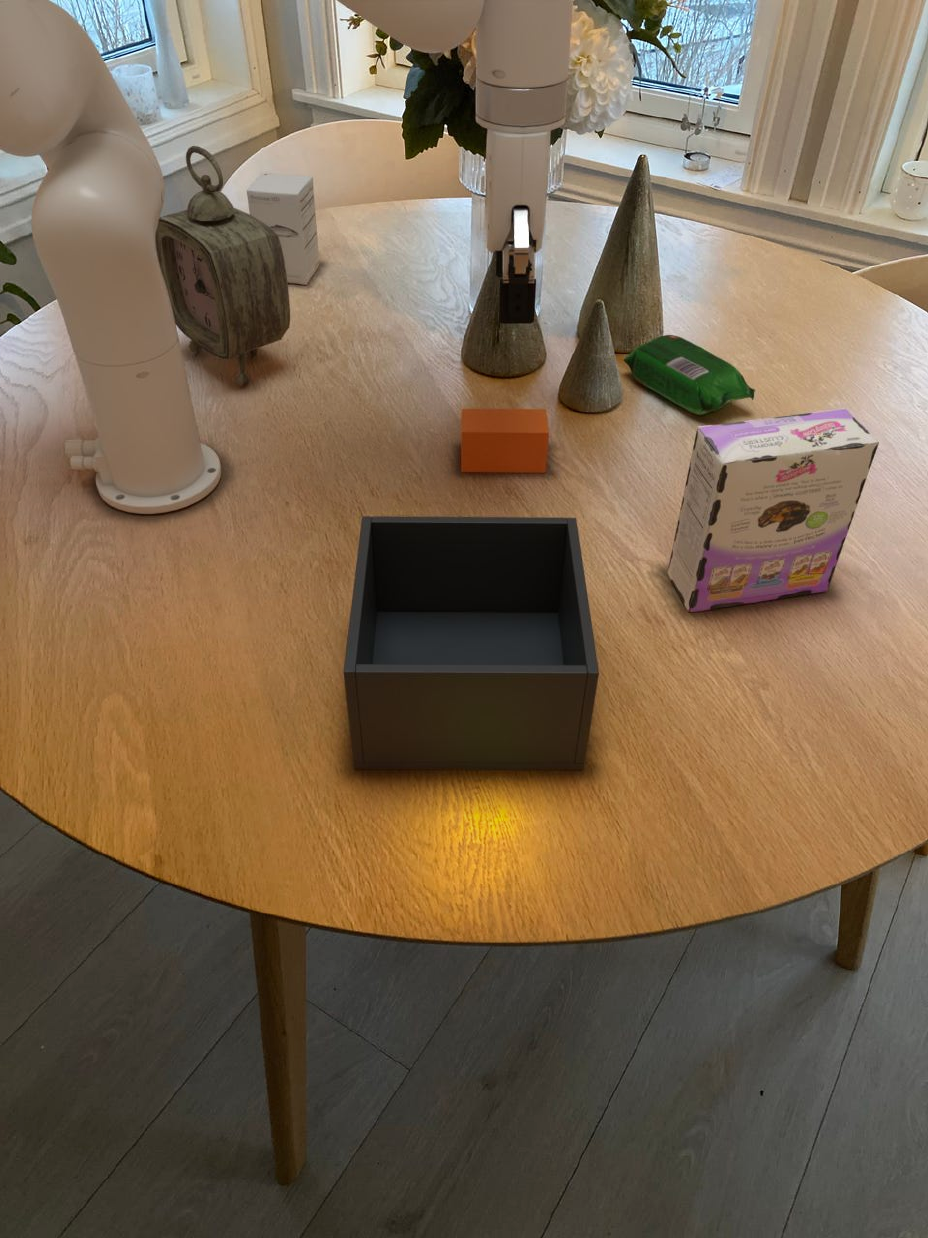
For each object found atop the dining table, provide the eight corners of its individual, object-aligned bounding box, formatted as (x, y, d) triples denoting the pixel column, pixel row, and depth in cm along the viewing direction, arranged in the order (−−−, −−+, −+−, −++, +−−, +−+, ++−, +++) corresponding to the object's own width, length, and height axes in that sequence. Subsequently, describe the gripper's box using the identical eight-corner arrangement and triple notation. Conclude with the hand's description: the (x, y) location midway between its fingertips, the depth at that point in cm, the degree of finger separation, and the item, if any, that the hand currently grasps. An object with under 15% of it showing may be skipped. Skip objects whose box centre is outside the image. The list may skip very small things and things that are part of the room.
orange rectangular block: (461, 472, 102) (461, 431, 98) (461, 448, 105) (461, 408, 102) (545, 472, 102) (549, 432, 99) (542, 448, 105) (546, 408, 102)
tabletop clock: (176, 352, 120) (131, 138, 103) (238, 330, 125) (204, 122, 107) (239, 397, 112) (202, 175, 95) (302, 372, 117) (278, 155, 100)
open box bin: (353, 769, 73) (343, 672, 66) (369, 612, 86) (362, 515, 78) (583, 770, 73) (599, 673, 66) (565, 613, 86) (576, 517, 79)
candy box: (799, 554, 93) (847, 404, 81) (828, 594, 88) (884, 441, 77) (664, 573, 90) (695, 421, 79) (688, 614, 86) (724, 461, 75)
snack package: (709, 434, 108) (719, 393, 104) (616, 375, 117) (622, 336, 113) (752, 415, 111) (763, 375, 107) (658, 360, 120) (665, 321, 117)
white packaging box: (256, 281, 135) (243, 189, 127) (272, 260, 141) (261, 170, 132) (307, 286, 134) (297, 193, 126) (321, 264, 140) (313, 174, 131)
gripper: (474, 72, 86) (473, 260, 97) (477, 134, 73) (475, 342, 85) (558, 71, 86) (547, 260, 97) (575, 134, 73) (560, 341, 85)
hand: (514, 298), depth 91 cm, fingers open, 9 cm apart
